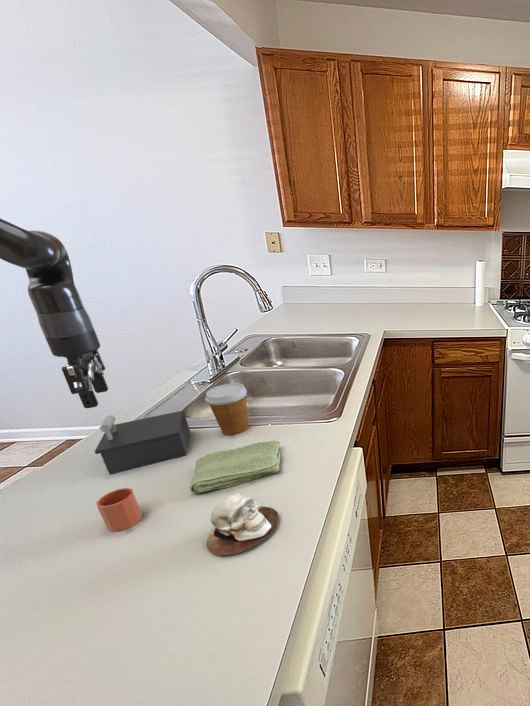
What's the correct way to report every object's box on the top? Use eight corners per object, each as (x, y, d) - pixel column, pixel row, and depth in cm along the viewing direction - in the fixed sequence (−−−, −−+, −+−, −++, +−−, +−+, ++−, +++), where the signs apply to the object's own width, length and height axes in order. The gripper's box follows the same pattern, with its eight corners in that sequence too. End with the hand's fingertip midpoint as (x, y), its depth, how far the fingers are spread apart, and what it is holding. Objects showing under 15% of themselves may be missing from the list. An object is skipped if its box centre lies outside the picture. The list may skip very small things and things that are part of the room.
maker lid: (95, 454, 88) (87, 435, 86) (109, 428, 98) (102, 410, 96) (179, 435, 95) (173, 417, 94) (184, 412, 106) (179, 396, 104)
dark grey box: (109, 474, 91) (100, 453, 89) (121, 447, 101) (113, 427, 99) (186, 455, 98) (179, 435, 95) (190, 431, 108) (184, 413, 106)
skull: (296, 508, 79) (260, 502, 70) (271, 564, 75) (230, 565, 66) (250, 493, 83) (211, 484, 74) (224, 545, 79) (179, 543, 70)
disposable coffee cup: (229, 420, 113) (219, 382, 109) (262, 420, 113) (253, 382, 109) (207, 438, 105) (194, 398, 100) (242, 439, 104) (231, 398, 100)
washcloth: (282, 474, 91) (280, 462, 90) (190, 499, 83) (186, 486, 82) (280, 445, 102) (277, 434, 100) (198, 465, 94) (194, 453, 93)
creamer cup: (101, 534, 74) (89, 509, 72) (117, 515, 79) (106, 490, 77) (134, 528, 76) (123, 504, 73) (147, 509, 80) (137, 486, 78)
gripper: (57, 324, 87) (84, 390, 93) (30, 343, 76) (64, 417, 82) (101, 320, 91) (125, 383, 97) (82, 336, 79) (111, 408, 85)
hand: (97, 399), depth 89 cm, fingers open, 8 cm apart
